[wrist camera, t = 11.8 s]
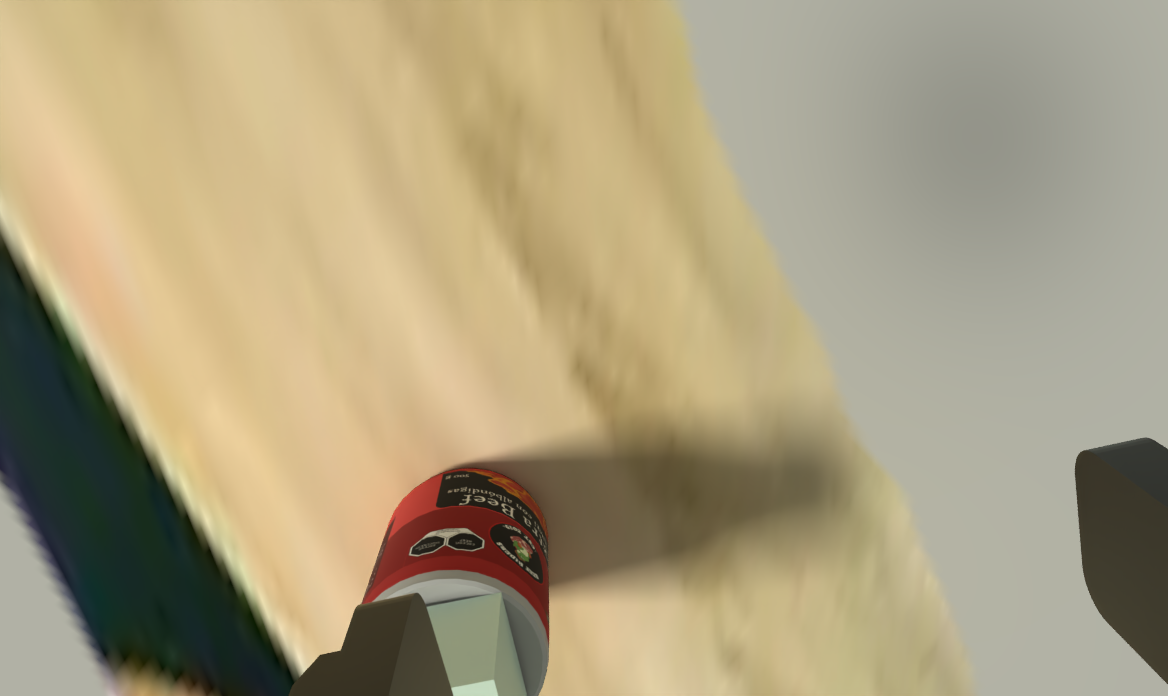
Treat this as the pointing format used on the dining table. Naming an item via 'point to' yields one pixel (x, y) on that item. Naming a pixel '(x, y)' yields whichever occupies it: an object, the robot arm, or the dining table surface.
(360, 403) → the dining table surface
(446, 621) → the sage block
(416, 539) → the canned food
